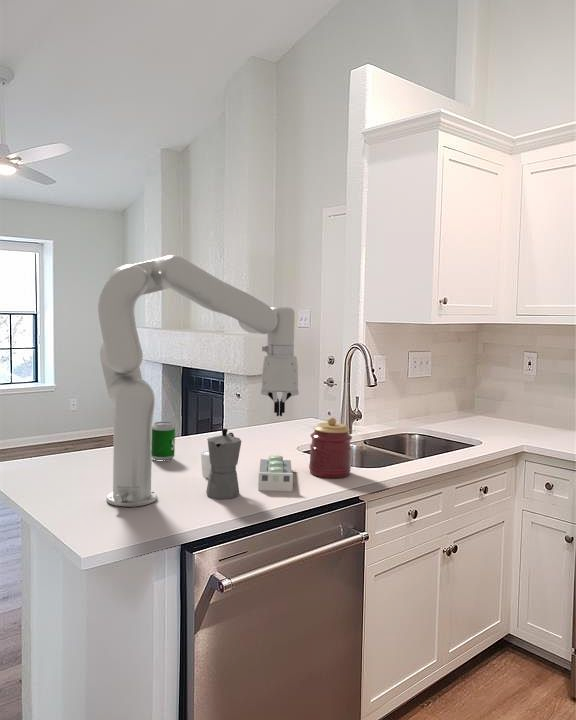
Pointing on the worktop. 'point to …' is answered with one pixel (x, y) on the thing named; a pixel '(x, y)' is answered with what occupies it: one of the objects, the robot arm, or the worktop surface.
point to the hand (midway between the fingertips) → (279, 415)
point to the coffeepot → (223, 466)
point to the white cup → (205, 464)
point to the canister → (330, 450)
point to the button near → (275, 470)
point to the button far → (275, 458)
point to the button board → (275, 477)
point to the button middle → (275, 464)
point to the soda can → (163, 441)
